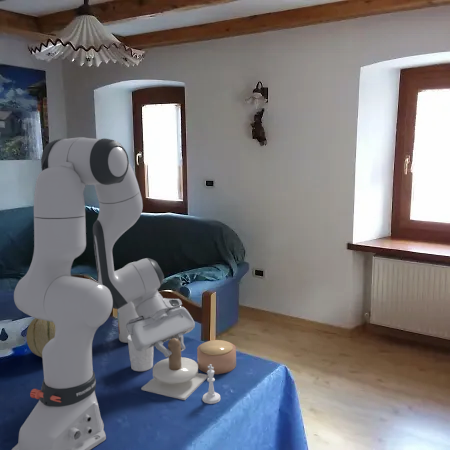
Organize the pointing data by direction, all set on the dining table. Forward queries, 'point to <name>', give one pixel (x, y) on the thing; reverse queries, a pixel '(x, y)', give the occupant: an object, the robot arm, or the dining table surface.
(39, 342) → the cantaloupe
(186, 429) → the dining table surface
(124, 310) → the milk bottle
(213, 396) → the chess piece
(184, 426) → the dining table surface
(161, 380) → the lid
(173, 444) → the dining table surface
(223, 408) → the dining table surface
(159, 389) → the mat
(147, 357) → the white cup
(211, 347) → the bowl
